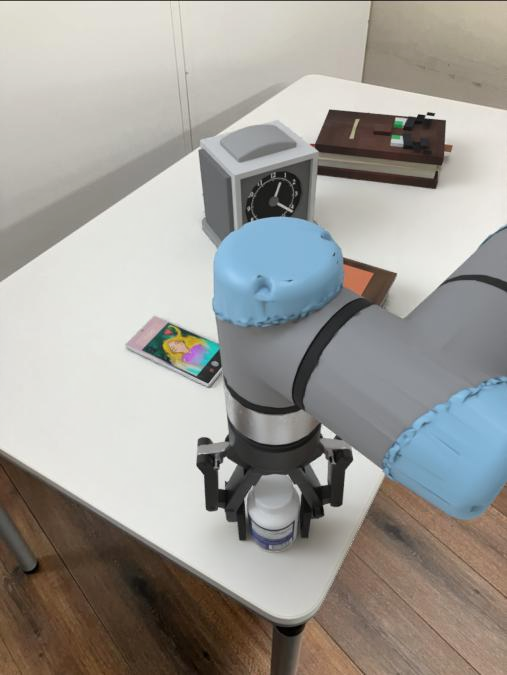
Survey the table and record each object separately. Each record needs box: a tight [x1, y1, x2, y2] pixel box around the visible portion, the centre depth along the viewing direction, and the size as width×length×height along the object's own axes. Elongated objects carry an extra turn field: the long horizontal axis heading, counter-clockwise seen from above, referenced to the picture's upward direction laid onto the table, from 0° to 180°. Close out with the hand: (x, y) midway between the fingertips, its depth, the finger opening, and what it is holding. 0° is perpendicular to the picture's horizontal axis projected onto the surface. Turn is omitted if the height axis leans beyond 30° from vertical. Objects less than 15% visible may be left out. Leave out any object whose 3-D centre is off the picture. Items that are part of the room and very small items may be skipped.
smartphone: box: [124, 315, 223, 388], centre depth 74 cm, size 7×1×15 cm
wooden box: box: [343, 256, 398, 308], centre depth 76 cm, size 13×21×5 cm, turn 151°
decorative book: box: [309, 108, 453, 190], centre depth 109 cm, size 19×8×30 cm
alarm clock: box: [197, 119, 319, 250], centre depth 88 cm, size 18×13×18 cm
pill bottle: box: [246, 474, 301, 553], centre depth 53 cm, size 5×5×10 cm
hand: (273, 526), depth 56 cm, fingers open, 6 cm apart
